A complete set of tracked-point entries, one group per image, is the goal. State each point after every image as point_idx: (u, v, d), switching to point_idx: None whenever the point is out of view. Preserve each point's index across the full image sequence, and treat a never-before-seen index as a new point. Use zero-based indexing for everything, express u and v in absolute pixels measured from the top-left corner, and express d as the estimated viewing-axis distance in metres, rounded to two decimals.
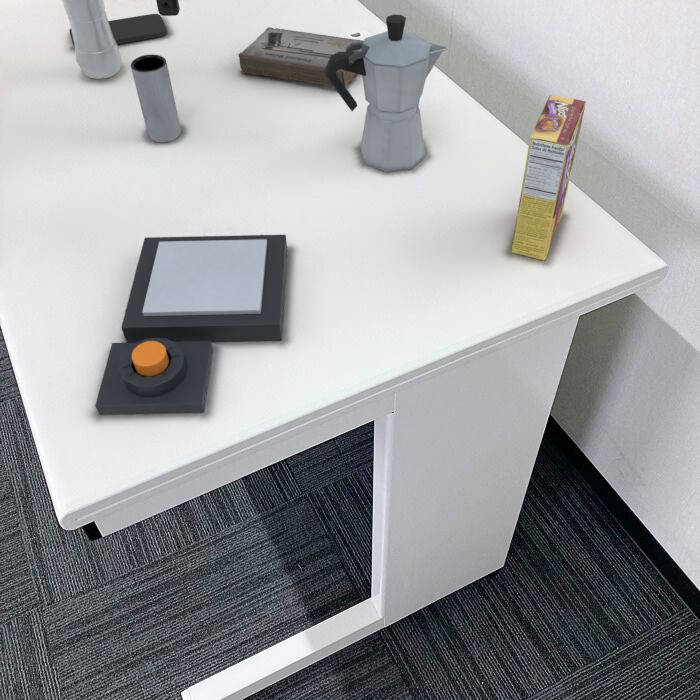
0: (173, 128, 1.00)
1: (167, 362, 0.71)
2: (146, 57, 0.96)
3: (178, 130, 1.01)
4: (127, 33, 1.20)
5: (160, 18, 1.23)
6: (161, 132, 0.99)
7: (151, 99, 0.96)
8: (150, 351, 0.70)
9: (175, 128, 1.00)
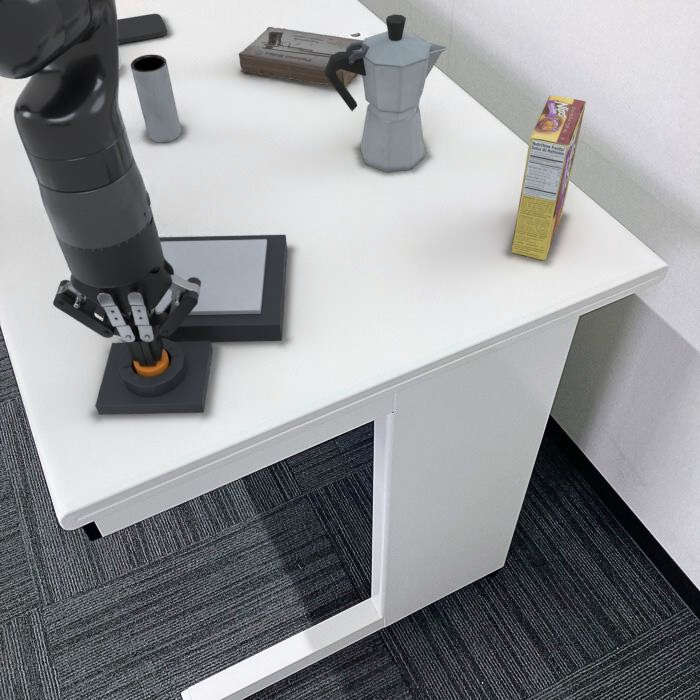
0: (173, 128, 1.00)
1: None
2: (146, 57, 0.96)
3: (178, 130, 1.01)
4: (127, 33, 1.20)
5: (160, 18, 1.23)
6: (161, 132, 0.99)
7: (151, 99, 0.96)
8: None
9: (175, 128, 1.00)
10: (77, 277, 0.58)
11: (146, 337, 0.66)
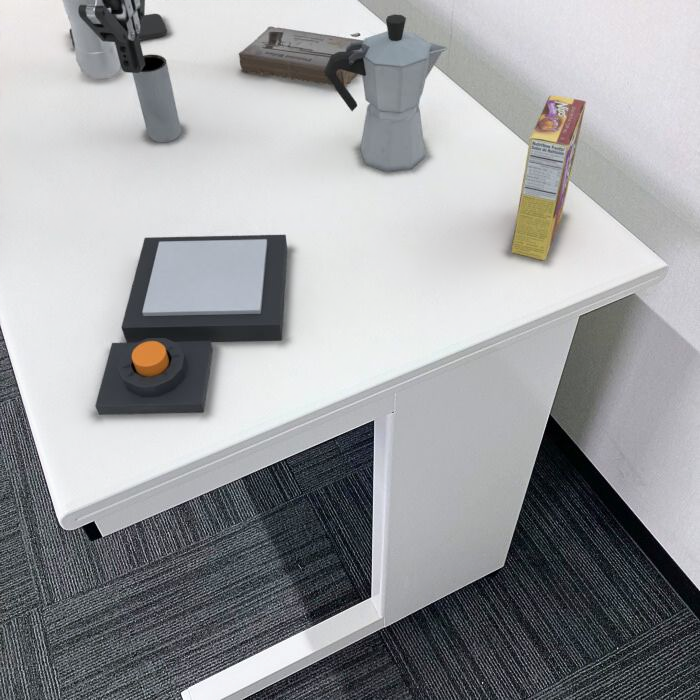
0: (173, 128, 1.00)
1: (167, 362, 0.71)
2: (146, 57, 0.96)
3: (178, 130, 1.01)
4: None
5: (160, 18, 1.23)
6: (161, 132, 0.99)
7: (151, 99, 0.96)
8: (150, 351, 0.70)
9: (175, 128, 1.00)
10: None
11: (138, 26, 0.79)
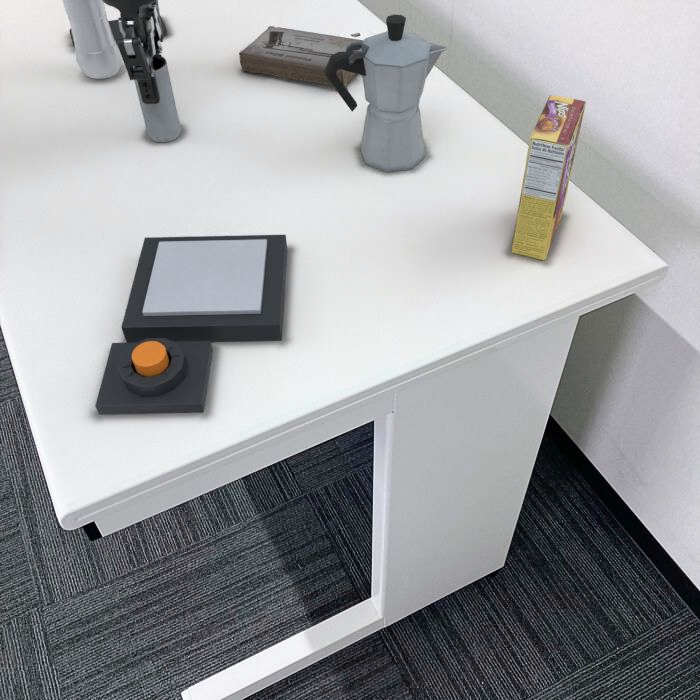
0: (173, 128, 1.00)
1: (167, 362, 0.71)
2: None
3: (178, 130, 1.01)
4: None
5: (160, 18, 1.23)
6: (161, 132, 0.99)
7: None
8: (150, 351, 0.70)
9: (175, 128, 1.00)
10: None
11: (161, 47, 0.96)
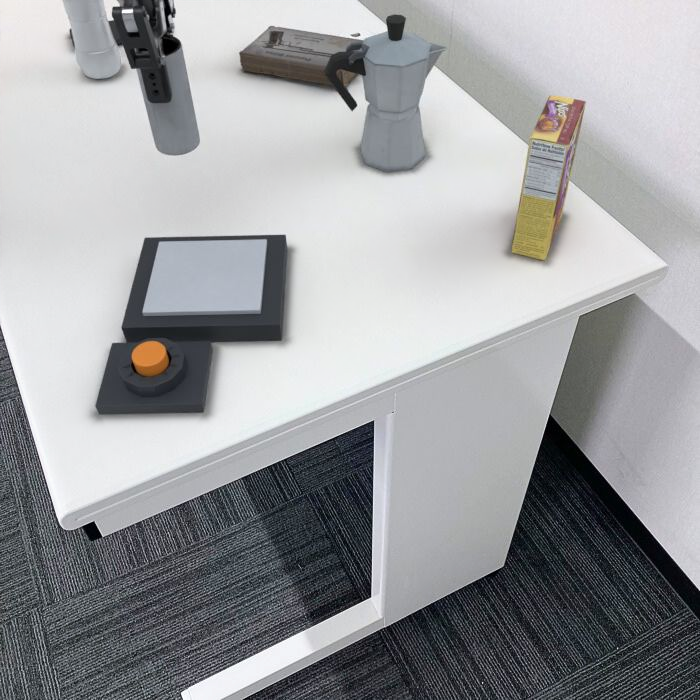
0: (190, 136, 0.73)
1: (167, 362, 0.71)
2: None
3: (196, 139, 0.74)
4: None
5: None
6: (174, 142, 0.73)
7: None
8: (150, 351, 0.70)
9: (193, 137, 0.73)
10: None
11: None
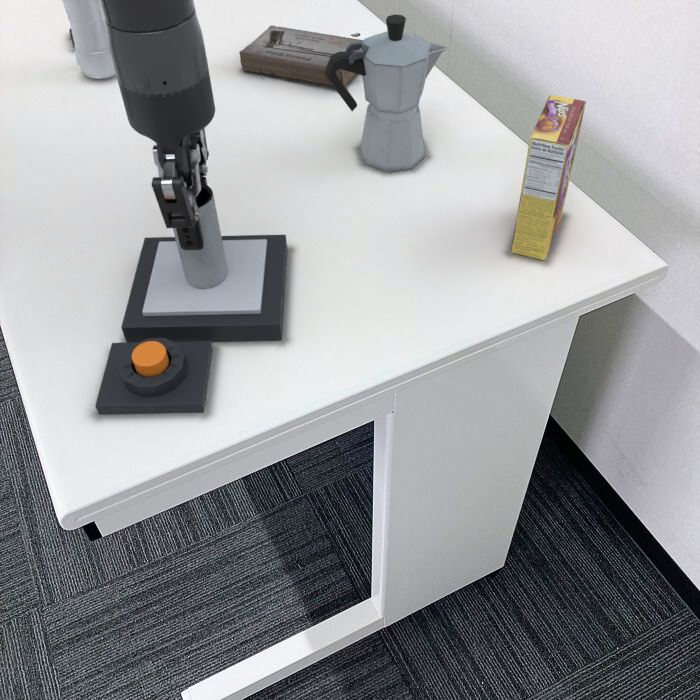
0: (219, 271, 0.76)
1: (167, 362, 0.71)
2: None
3: (225, 272, 0.77)
4: None
5: None
6: (203, 277, 0.76)
7: None
8: (150, 351, 0.70)
9: (221, 271, 0.77)
10: (201, 124, 0.63)
11: (206, 169, 0.73)
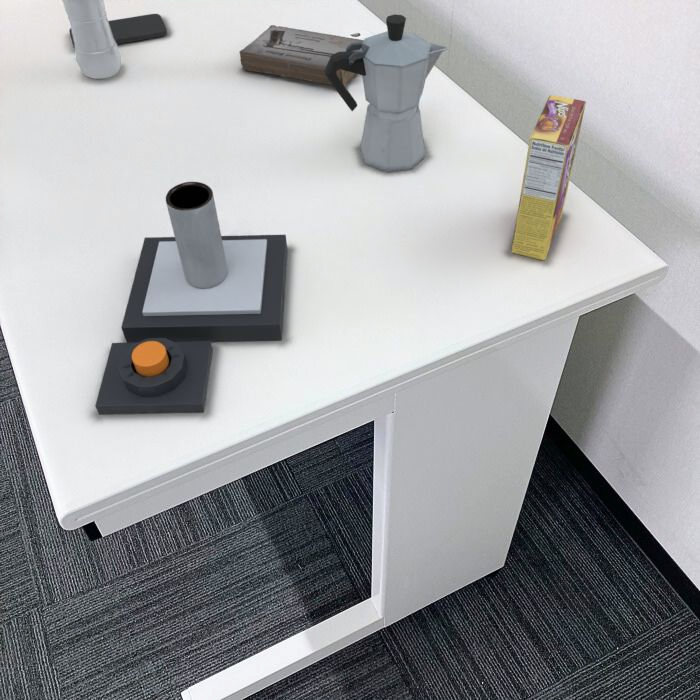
0: (219, 271, 0.76)
1: (167, 362, 0.71)
2: (185, 186, 0.72)
3: (225, 272, 0.77)
4: (127, 33, 1.20)
5: (160, 18, 1.23)
6: (203, 277, 0.76)
7: (192, 241, 0.72)
8: (150, 351, 0.70)
9: (221, 271, 0.77)
10: None
11: None
